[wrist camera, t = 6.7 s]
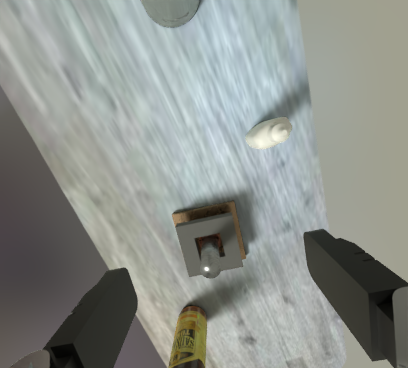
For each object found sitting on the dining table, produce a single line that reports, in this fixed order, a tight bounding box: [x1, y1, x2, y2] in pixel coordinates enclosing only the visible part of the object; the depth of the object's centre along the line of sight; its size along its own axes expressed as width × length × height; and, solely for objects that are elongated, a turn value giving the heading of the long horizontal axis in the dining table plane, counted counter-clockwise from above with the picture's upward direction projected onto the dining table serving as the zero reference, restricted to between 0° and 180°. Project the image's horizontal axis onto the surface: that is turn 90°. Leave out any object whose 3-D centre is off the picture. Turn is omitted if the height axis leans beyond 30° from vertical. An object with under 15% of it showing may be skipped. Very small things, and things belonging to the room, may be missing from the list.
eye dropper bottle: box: [245, 117, 292, 149], centre depth 31 cm, size 4×6×12 cm
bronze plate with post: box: [172, 200, 246, 278], centre depth 36 cm, size 12×12×11 cm
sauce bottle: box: [169, 306, 207, 368], centre depth 36 cm, size 7×6×20 cm
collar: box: [175, 212, 243, 277], centre depth 38 cm, size 10×10×2 cm
